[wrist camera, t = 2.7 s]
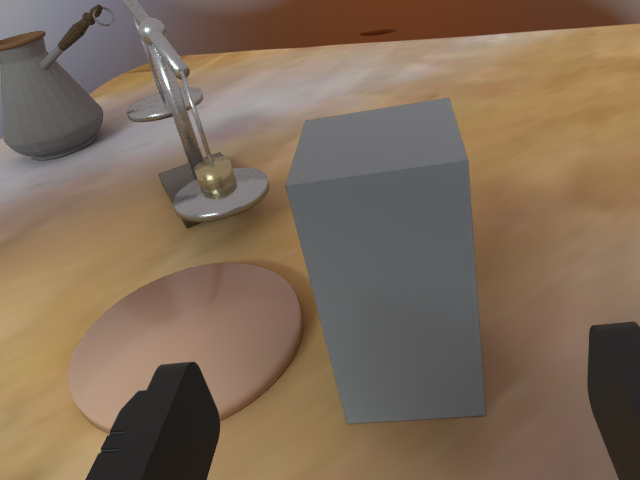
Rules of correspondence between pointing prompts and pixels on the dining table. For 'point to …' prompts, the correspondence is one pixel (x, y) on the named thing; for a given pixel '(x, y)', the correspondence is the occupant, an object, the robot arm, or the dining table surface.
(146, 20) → the tipped balance
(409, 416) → the grey rectangular block
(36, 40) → the coffee pot
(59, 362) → the dining table surface
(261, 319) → the terracotta dish
